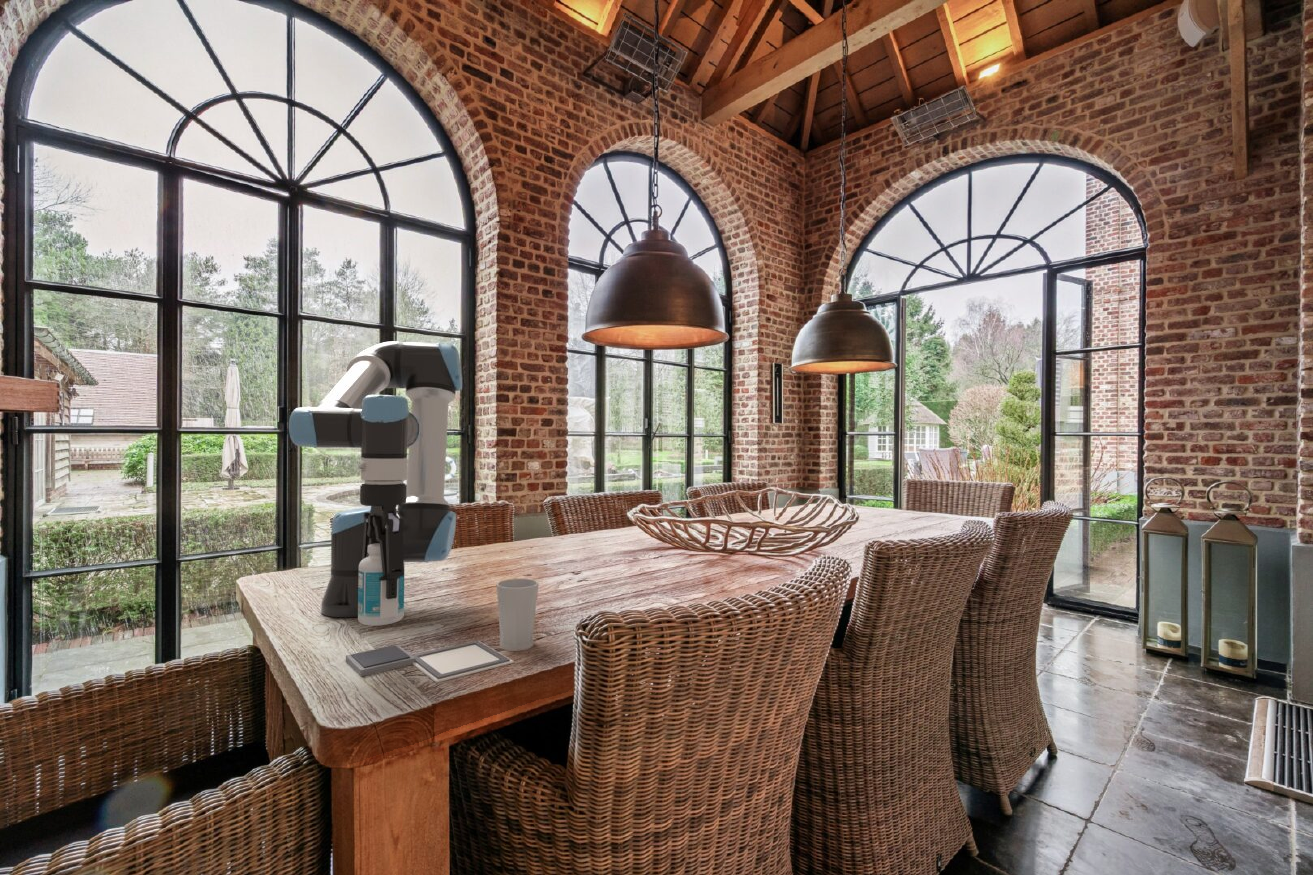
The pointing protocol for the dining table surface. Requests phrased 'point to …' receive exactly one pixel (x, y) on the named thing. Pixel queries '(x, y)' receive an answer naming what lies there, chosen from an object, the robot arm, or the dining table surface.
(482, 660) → the sheet
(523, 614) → the cup
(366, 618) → the pill bottle
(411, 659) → the ink pad
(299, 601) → the dining table surface
